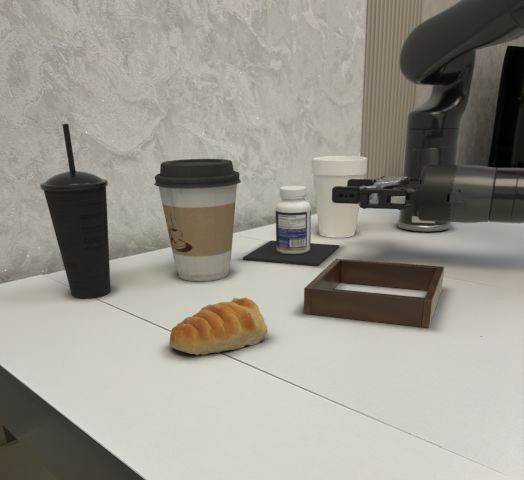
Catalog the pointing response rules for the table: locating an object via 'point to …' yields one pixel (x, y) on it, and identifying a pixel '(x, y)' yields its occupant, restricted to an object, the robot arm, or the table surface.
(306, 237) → the pill bottle
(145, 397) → the table surface
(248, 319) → the pastry
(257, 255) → the mat
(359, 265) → the tray
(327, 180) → the foam cup
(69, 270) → the drinking cup
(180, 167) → the coffee cup
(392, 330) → the table surface
